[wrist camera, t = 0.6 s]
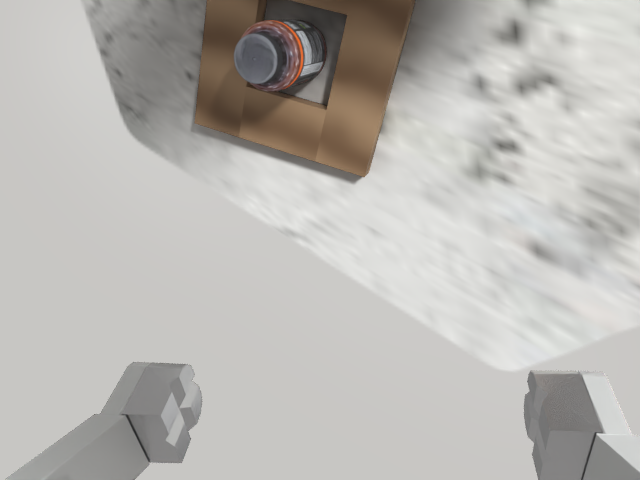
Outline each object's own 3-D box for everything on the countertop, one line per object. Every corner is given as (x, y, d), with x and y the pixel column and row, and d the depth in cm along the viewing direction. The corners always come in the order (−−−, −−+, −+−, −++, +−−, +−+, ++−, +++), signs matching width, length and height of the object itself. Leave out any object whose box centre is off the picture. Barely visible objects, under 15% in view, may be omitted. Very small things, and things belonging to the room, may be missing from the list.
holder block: (225, -82, 49) (215, -85, 48) (425, -36, 46) (422, -39, 44) (203, 120, 58) (194, 123, 57) (368, 172, 55) (364, 177, 53)
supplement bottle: (275, 81, 54) (224, 95, 44) (272, 20, 52) (217, 20, 42) (329, 82, 52) (288, 97, 42) (328, 19, 50) (285, 18, 40)
